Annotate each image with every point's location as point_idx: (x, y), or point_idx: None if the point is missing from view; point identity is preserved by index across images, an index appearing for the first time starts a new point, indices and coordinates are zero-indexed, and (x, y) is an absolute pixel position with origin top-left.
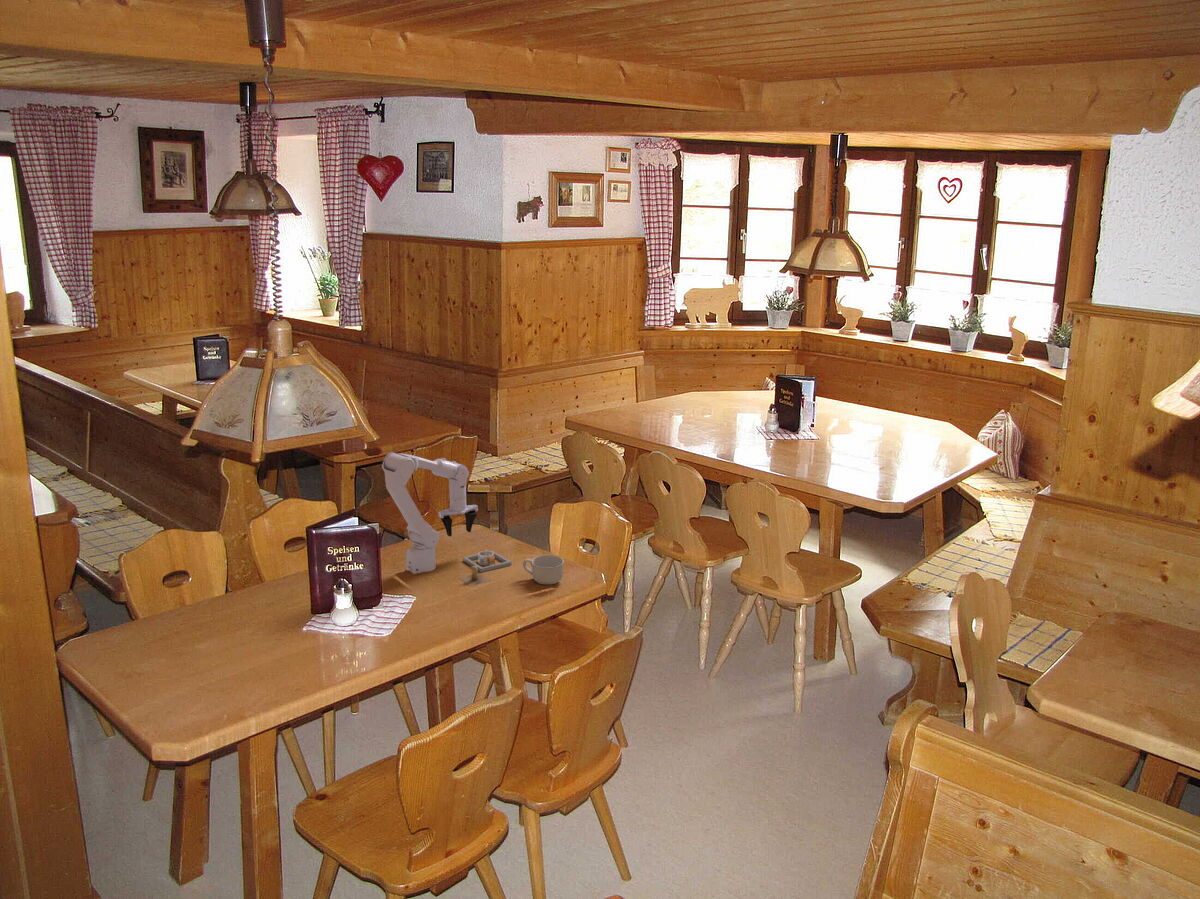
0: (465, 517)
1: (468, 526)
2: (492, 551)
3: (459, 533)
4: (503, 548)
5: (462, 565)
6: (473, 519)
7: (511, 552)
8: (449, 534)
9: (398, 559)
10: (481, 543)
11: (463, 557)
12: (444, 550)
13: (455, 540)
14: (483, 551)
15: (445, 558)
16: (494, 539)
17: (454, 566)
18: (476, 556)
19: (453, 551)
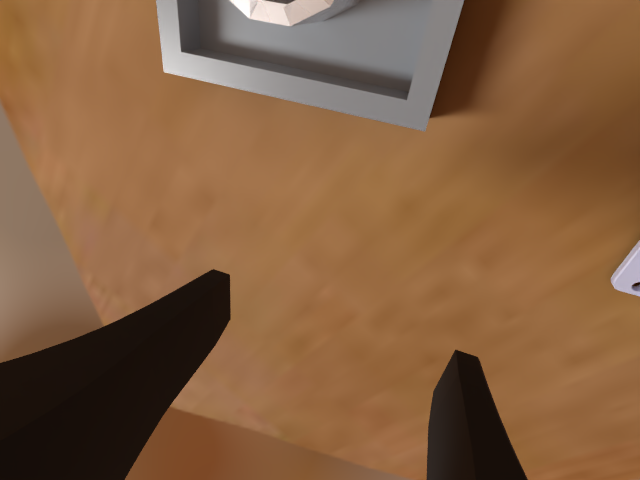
0: (130, 465)
1: (189, 332)
2: (172, 59)
3: (199, 384)
4: (95, 124)
5: (476, 77)
6: (46, 360)
7: (68, 25)
8: (484, 382)
9: (635, 446)
10: (169, 261)
11: (421, 130)
12: (359, 338)
13: (247, 362)
14: (262, 3)
15: (445, 269)
16: (102, 248)
17: (538, 110)
18: (317, 79)
19: (334, 298)
